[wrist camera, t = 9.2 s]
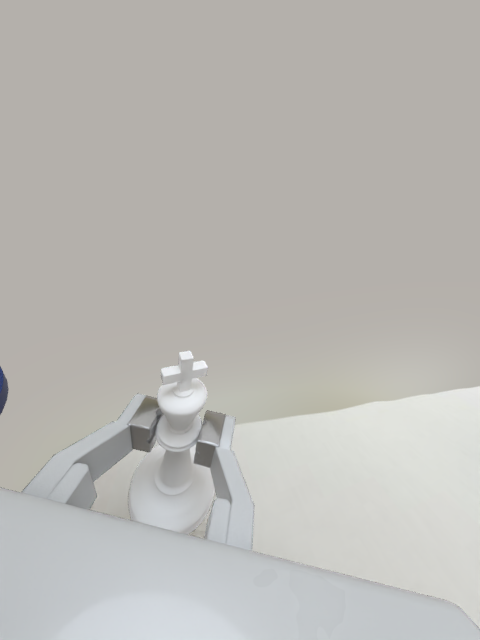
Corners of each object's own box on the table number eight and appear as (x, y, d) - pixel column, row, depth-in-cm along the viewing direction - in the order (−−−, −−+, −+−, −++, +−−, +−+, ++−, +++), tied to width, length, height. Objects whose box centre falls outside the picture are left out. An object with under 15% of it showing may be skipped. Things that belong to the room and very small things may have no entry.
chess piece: (229, 510, 12) (277, 389, 7) (132, 567, 10) (108, 442, 5) (200, 432, 16) (220, 316, 11) (125, 460, 13) (107, 325, 8)
